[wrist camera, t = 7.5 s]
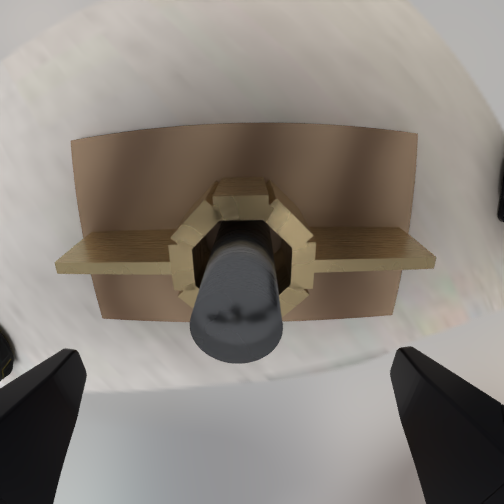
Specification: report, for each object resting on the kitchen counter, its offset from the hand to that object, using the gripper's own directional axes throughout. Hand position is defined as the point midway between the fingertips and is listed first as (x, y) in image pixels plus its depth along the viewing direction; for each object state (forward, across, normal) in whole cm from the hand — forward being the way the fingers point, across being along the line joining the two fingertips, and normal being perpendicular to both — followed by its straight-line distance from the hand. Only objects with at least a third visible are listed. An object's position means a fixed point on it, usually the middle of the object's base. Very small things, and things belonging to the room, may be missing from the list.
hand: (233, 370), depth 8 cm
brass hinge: (+11, 0, 0) cm, 11 cm away
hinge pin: (+11, 0, 0) cm, 11 cm away
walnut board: (+12, 0, 0) cm, 12 cm away
